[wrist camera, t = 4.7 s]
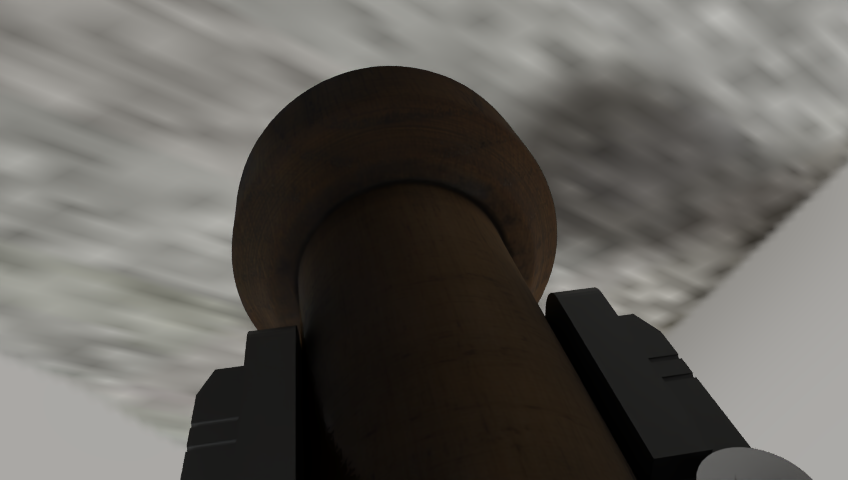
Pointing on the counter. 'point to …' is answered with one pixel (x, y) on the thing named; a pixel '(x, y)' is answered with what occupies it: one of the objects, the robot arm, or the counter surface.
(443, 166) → the brown wooden chess pawn
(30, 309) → the counter surface
